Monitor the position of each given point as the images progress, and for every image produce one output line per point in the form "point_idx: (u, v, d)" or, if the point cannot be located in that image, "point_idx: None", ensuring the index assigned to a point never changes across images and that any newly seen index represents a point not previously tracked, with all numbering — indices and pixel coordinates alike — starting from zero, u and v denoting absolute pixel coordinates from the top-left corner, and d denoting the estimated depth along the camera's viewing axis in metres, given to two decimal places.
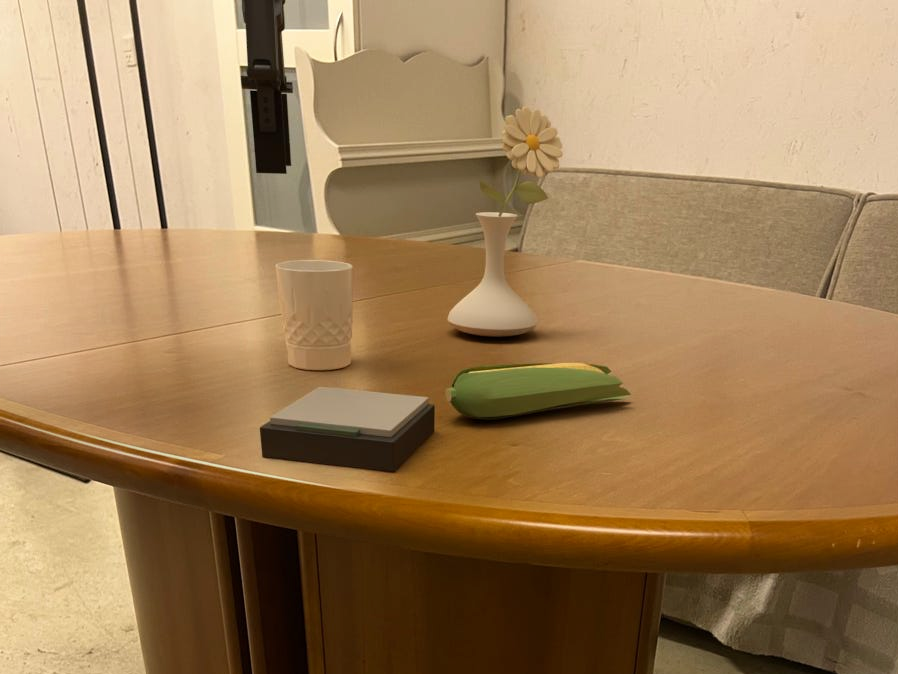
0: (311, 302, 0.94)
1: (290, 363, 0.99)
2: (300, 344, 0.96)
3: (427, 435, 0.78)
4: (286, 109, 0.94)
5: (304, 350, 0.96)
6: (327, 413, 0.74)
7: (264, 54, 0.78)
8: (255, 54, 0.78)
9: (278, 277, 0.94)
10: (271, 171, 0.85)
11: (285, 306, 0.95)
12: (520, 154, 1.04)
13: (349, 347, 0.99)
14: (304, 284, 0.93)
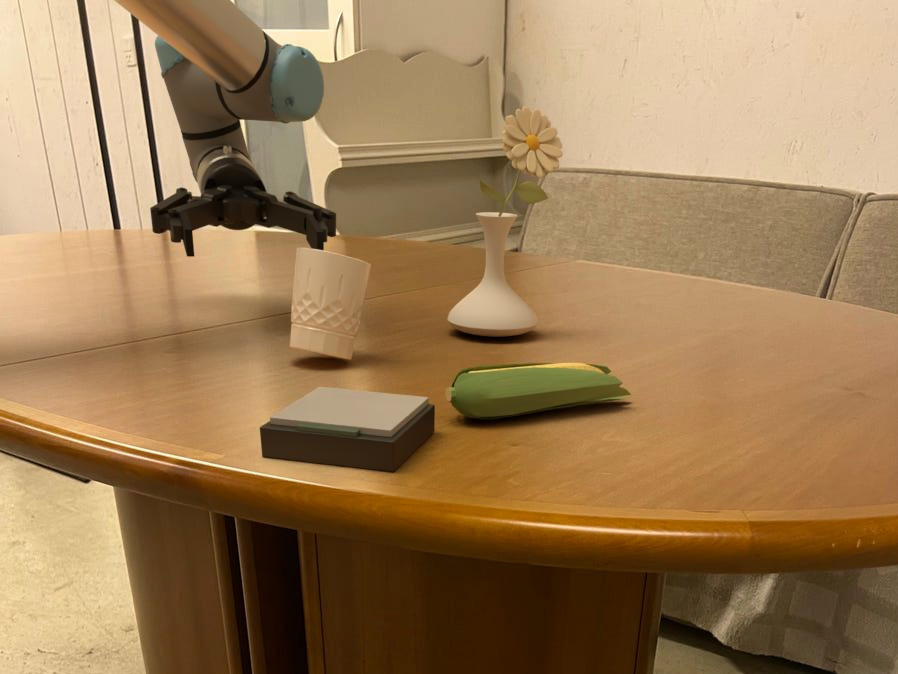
0: (326, 283, 0.95)
1: (291, 344, 0.98)
2: (306, 324, 0.96)
3: (427, 435, 0.78)
4: (308, 218, 1.03)
5: (309, 330, 0.96)
6: (327, 413, 0.74)
7: None
8: None
9: (298, 258, 0.96)
10: (185, 242, 0.96)
11: (299, 285, 0.96)
12: (520, 154, 1.04)
13: (353, 342, 0.99)
14: (323, 264, 0.94)
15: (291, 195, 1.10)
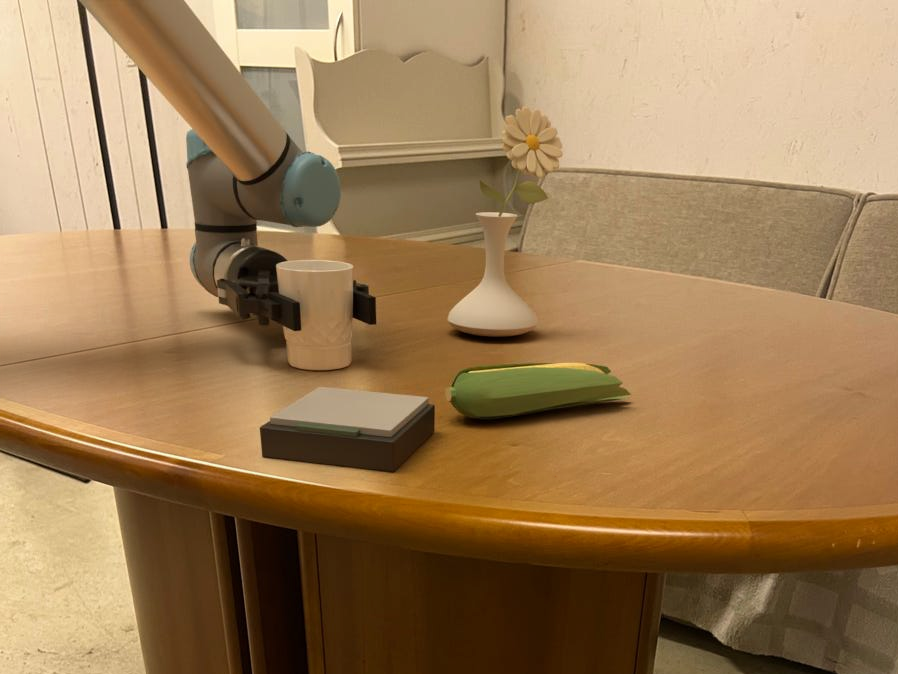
0: (318, 303, 0.94)
1: (293, 364, 0.98)
2: (305, 345, 0.96)
3: (427, 435, 0.78)
4: None
5: (309, 350, 0.96)
6: (327, 413, 0.74)
7: (235, 301, 0.97)
8: (236, 308, 0.97)
9: (281, 278, 0.94)
10: (292, 316, 0.92)
11: None
12: (520, 154, 1.04)
13: (350, 346, 0.99)
14: (311, 284, 0.93)
15: None
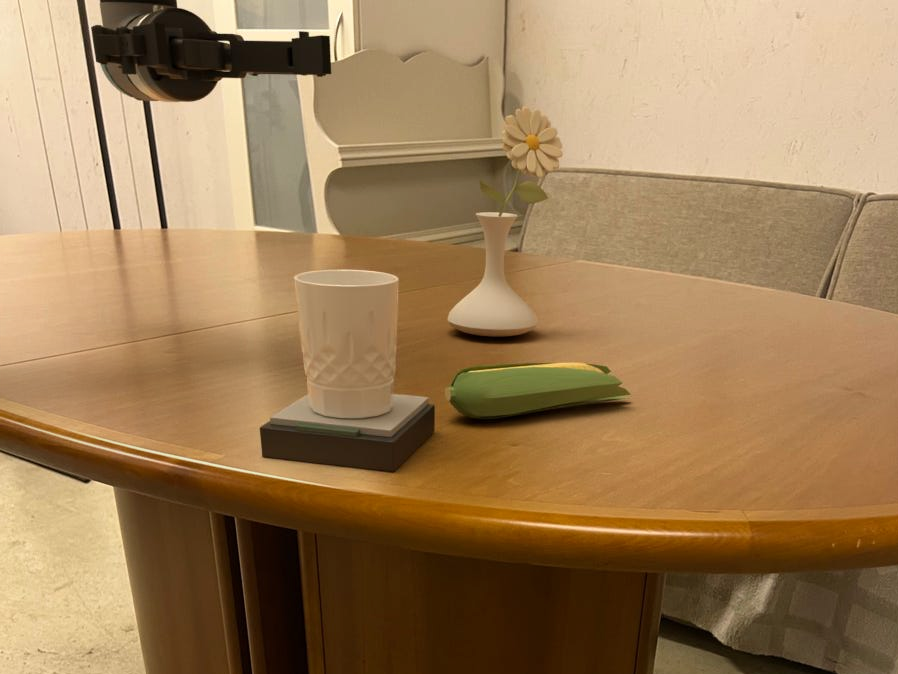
0: (351, 329, 0.68)
1: (316, 410, 0.73)
2: (334, 385, 0.71)
3: (427, 435, 0.78)
4: (297, 39, 0.80)
5: (339, 393, 0.71)
6: None
7: None
8: None
9: (301, 295, 0.69)
10: (156, 43, 0.71)
11: (312, 334, 0.69)
12: (520, 154, 1.04)
13: (393, 385, 0.74)
14: (343, 304, 0.67)
15: None
